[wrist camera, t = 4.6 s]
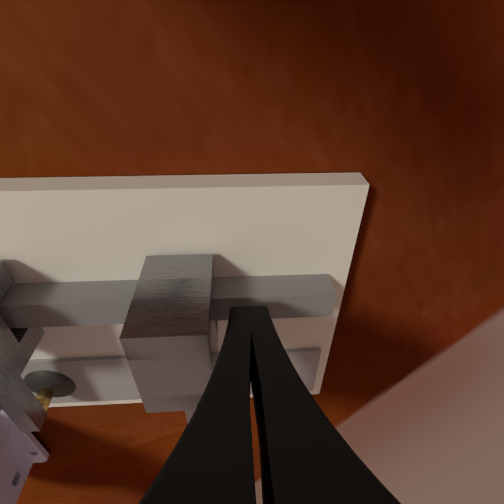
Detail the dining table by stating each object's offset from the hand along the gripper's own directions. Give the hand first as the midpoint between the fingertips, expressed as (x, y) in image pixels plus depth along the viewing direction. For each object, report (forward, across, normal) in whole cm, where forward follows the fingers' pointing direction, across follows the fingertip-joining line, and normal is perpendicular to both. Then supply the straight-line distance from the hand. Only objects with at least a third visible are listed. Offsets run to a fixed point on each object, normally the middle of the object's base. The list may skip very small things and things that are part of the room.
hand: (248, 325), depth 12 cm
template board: (+3, +4, +2) cm, 5 cm away
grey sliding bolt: (+2, +2, +2) cm, 4 cm away
